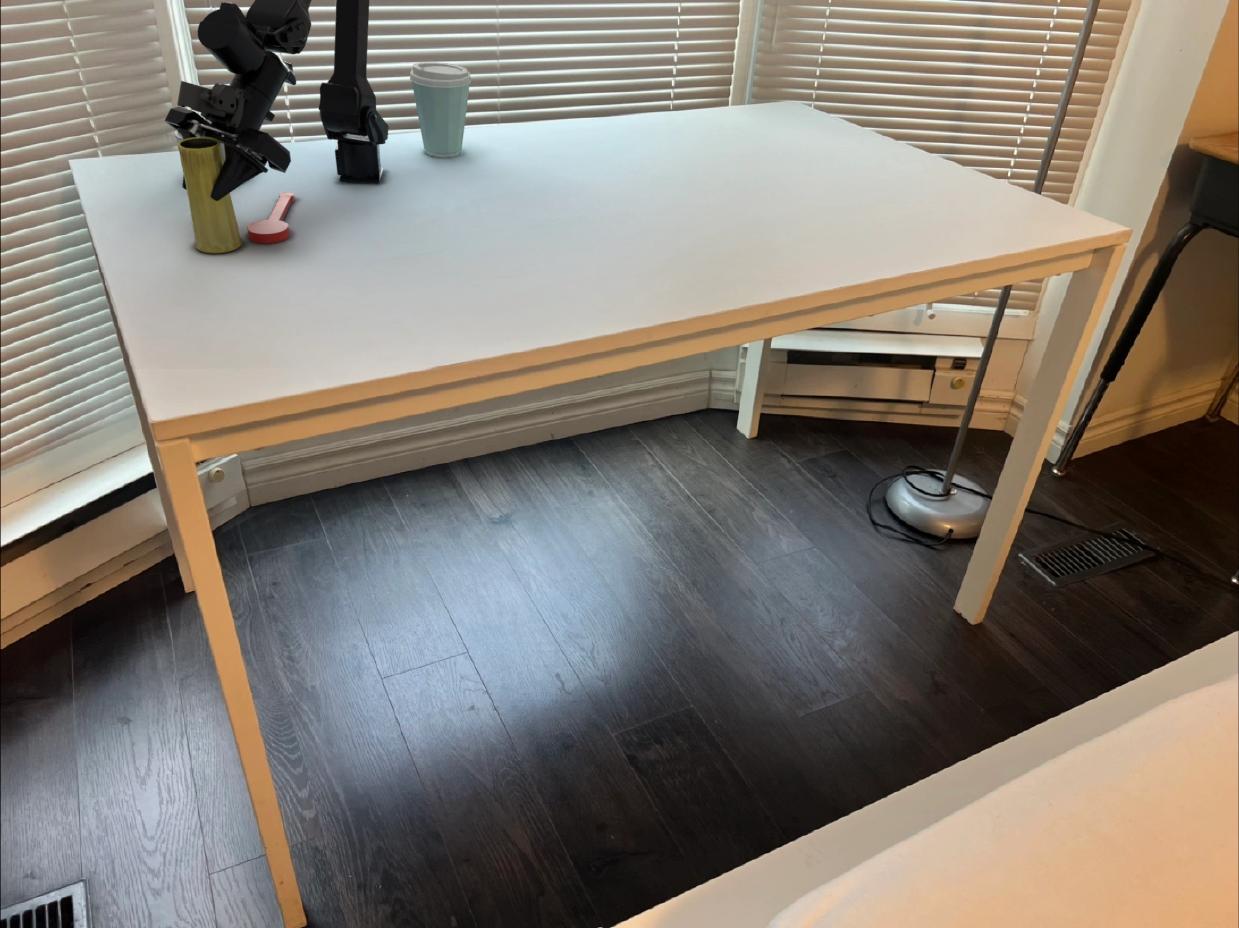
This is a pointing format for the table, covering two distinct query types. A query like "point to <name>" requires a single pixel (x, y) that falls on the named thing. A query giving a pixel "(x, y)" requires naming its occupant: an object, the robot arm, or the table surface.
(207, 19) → the robot arm
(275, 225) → the spoon
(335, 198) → the table surface
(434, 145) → the disposable coffee cup
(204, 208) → the vase
